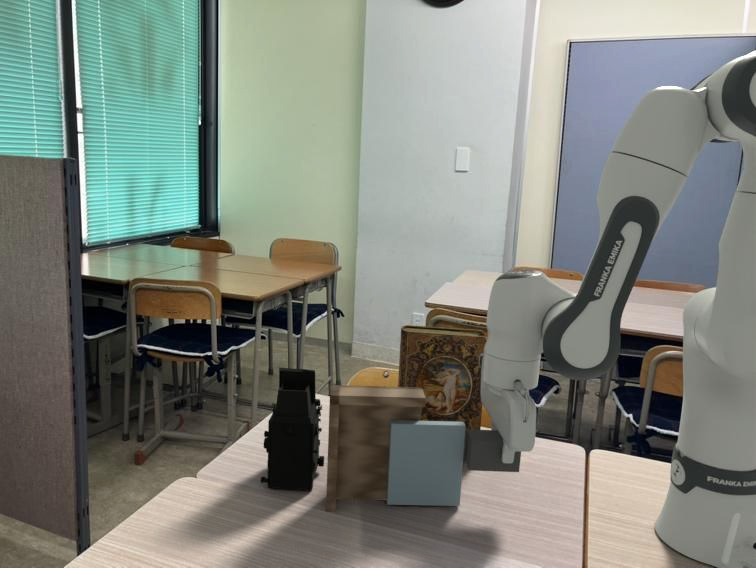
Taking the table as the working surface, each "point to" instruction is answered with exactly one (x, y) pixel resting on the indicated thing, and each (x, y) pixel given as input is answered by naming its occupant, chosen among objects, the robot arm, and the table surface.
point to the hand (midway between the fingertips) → (501, 452)
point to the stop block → (487, 452)
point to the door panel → (425, 462)
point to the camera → (294, 432)
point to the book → (444, 372)
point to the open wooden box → (364, 438)
